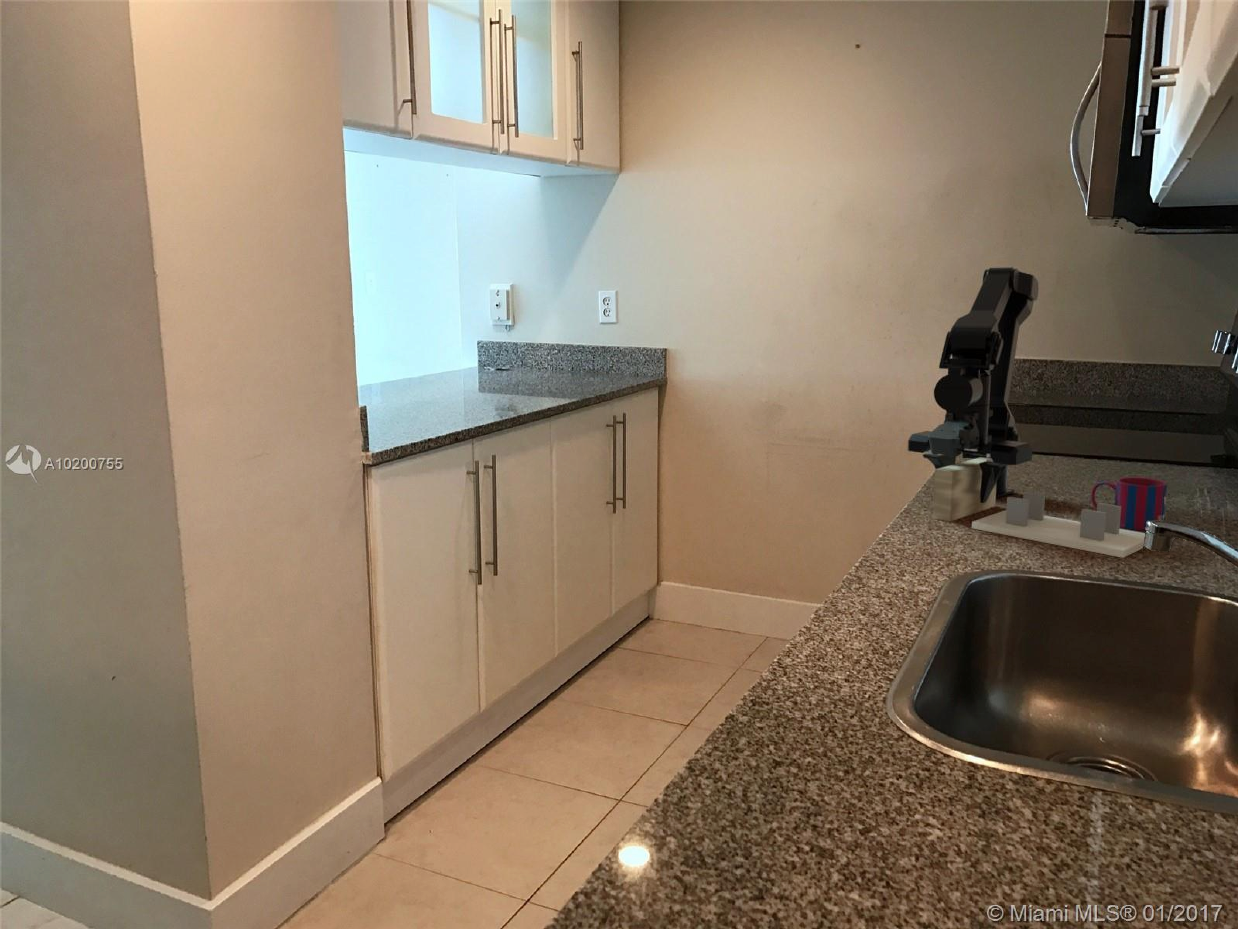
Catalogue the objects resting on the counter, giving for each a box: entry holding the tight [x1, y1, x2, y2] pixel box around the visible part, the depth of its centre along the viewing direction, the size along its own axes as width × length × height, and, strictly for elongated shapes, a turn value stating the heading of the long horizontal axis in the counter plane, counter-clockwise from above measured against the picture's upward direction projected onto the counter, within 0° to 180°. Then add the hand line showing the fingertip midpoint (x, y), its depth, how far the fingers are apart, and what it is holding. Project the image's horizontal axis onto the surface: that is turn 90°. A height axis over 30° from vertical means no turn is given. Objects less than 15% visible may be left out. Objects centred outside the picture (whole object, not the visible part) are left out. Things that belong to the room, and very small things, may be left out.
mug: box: [1090, 476, 1168, 532], centre depth 146 cm, size 7×10×7 cm
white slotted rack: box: [971, 490, 1146, 559], centre depth 141 cm, size 11×22×5 cm, turn 41°
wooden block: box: [932, 457, 997, 522], centre depth 155 cm, size 14×4×8 cm, turn 131°
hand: (965, 499), depth 155 cm, fingers open, 6 cm apart
